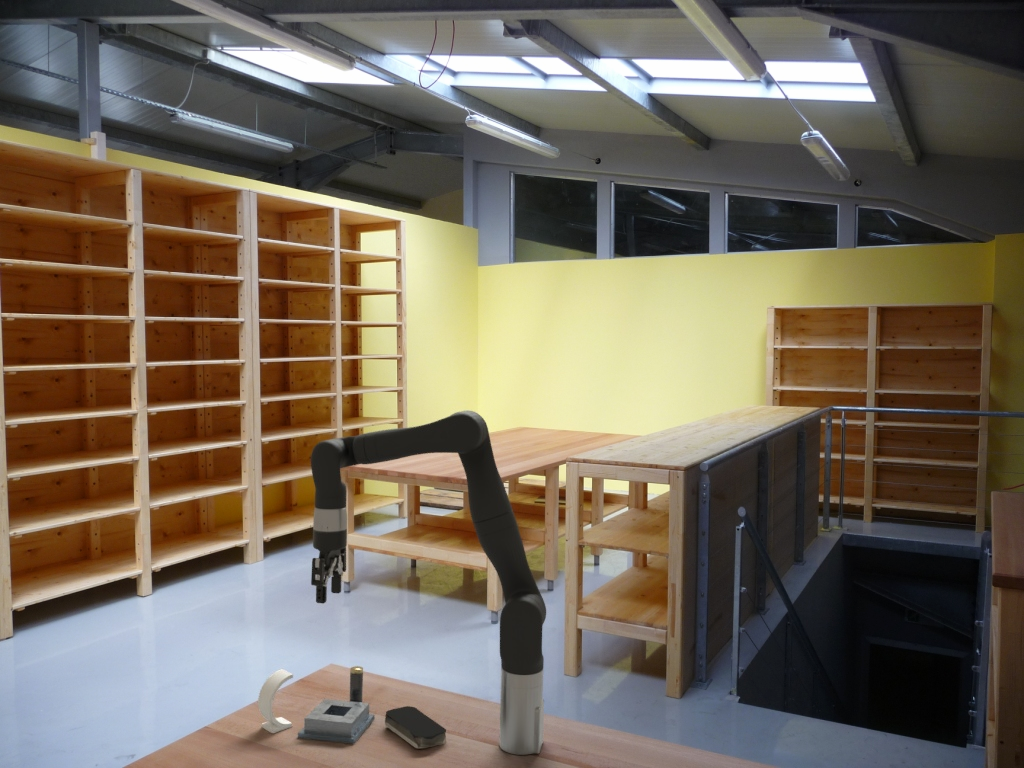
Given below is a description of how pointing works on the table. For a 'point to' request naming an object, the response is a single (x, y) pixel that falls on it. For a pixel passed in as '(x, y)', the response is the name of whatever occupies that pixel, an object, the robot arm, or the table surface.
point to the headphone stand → (267, 698)
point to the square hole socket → (337, 721)
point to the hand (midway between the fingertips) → (328, 597)
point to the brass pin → (356, 684)
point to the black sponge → (415, 727)
